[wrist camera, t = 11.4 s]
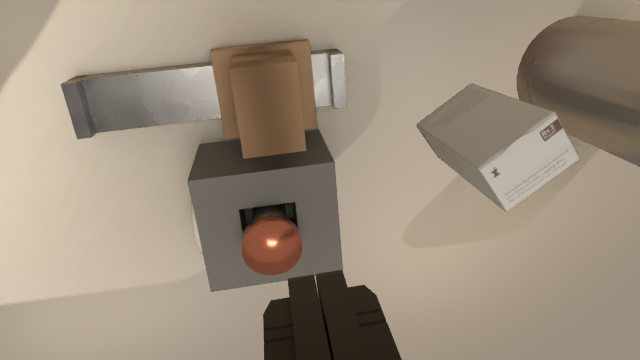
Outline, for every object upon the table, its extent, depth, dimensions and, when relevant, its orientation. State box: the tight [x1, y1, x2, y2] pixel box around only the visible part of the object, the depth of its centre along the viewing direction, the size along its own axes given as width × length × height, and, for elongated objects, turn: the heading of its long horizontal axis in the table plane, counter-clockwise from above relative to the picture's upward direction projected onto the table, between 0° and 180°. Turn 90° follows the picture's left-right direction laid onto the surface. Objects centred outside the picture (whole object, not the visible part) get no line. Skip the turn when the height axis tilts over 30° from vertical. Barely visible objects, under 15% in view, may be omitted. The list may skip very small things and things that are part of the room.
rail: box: [61, 49, 347, 139], centre depth 36 cm, size 20×4×3 cm, turn 95°
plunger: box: [242, 203, 302, 275], centre depth 34 cm, size 4×4×7 cm
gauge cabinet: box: [188, 130, 343, 292], centre depth 37 cm, size 10×9×8 cm
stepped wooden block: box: [210, 39, 318, 159], centre depth 33 cm, size 7×6×9 cm
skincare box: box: [417, 84, 580, 211], centre depth 35 cm, size 6×4×12 cm
